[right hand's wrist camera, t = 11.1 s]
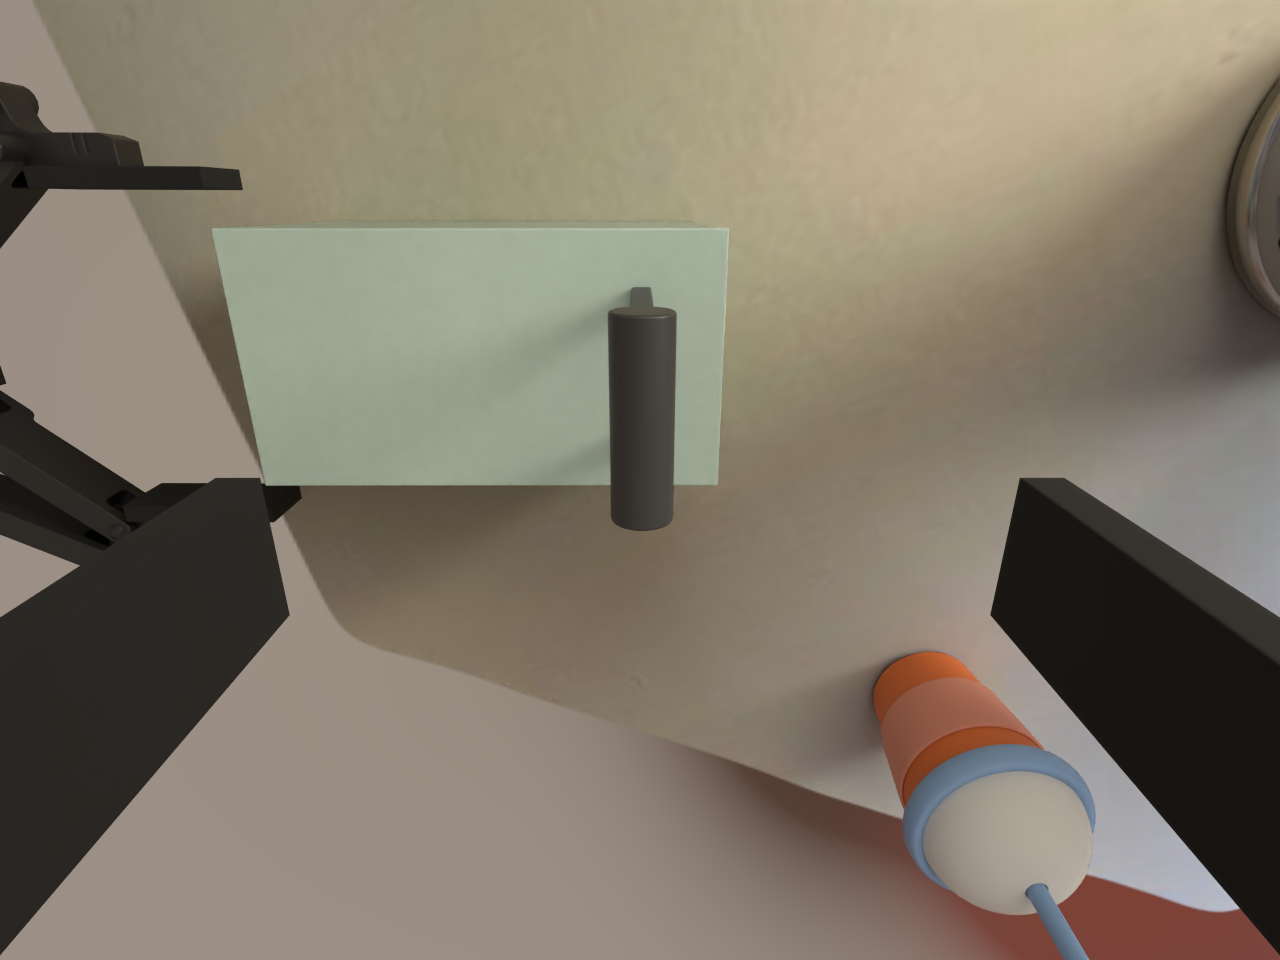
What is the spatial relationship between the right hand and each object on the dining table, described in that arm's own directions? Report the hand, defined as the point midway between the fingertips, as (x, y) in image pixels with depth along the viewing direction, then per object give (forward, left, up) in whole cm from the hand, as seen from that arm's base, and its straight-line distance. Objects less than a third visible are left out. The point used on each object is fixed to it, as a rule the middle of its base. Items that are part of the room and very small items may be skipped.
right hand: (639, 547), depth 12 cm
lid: (+2, -6, -15) cm, 16 cm away
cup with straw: (+16, +24, -25) cm, 38 cm away
